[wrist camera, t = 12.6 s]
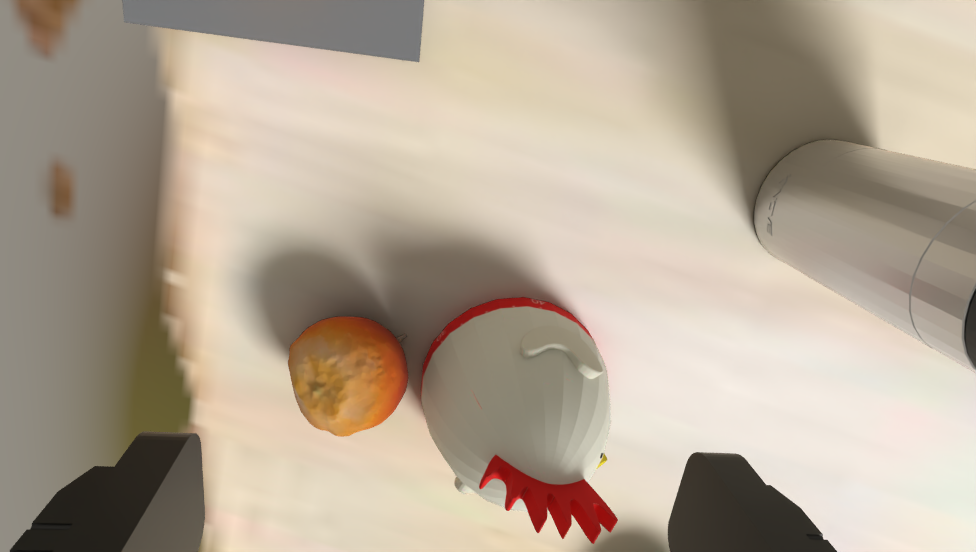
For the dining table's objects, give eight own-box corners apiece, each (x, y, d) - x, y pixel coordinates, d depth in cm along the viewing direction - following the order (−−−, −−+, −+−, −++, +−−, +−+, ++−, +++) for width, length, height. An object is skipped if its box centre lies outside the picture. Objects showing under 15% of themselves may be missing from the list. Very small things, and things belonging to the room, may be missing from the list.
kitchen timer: (553, 470, 48) (608, 642, 34) (395, 428, 45) (386, 598, 31) (629, 330, 44) (727, 459, 30) (462, 271, 40) (485, 386, 27)
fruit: (421, 418, 43) (356, 473, 36) (336, 374, 45) (259, 417, 38) (446, 322, 40) (382, 361, 33) (355, 281, 43) (277, 309, 35)
